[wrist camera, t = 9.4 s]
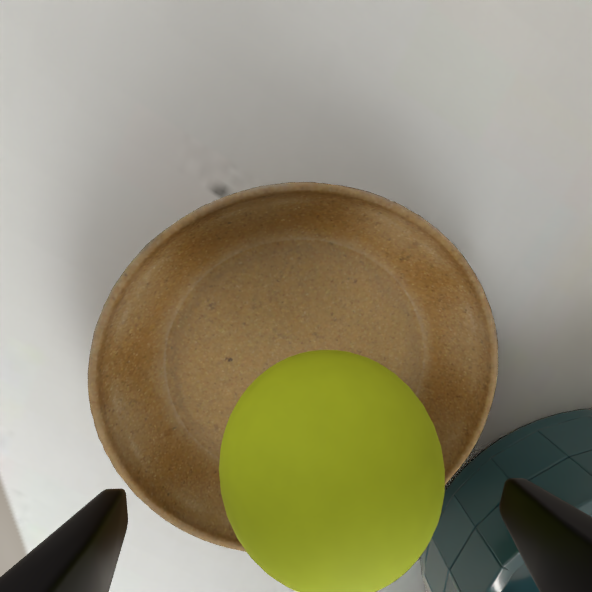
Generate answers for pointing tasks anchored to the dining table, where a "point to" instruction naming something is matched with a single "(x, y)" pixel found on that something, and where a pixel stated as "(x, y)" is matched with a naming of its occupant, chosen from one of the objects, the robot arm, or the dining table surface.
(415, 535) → the ball
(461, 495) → the glazed bowl
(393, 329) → the plant saucer
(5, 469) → the dining table surface
